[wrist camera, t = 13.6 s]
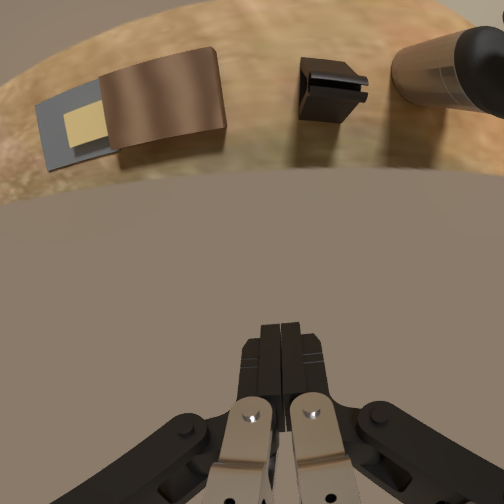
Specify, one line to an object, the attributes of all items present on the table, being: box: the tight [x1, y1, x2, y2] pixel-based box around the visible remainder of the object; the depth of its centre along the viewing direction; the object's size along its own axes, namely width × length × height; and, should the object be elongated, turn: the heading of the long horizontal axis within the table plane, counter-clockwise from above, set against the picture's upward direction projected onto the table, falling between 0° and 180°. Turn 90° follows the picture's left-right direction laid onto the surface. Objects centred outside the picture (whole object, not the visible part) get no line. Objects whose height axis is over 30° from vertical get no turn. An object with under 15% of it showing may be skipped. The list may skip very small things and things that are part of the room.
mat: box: [35, 79, 121, 171], centre depth 41 cm, size 15×12×1 cm
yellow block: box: [63, 100, 108, 148], centre depth 40 cm, size 8×6×2 cm
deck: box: [99, 47, 227, 151], centre depth 38 cm, size 16×11×4 cm
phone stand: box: [299, 57, 369, 123], centre depth 33 cm, size 9×6×12 cm, turn 178°
